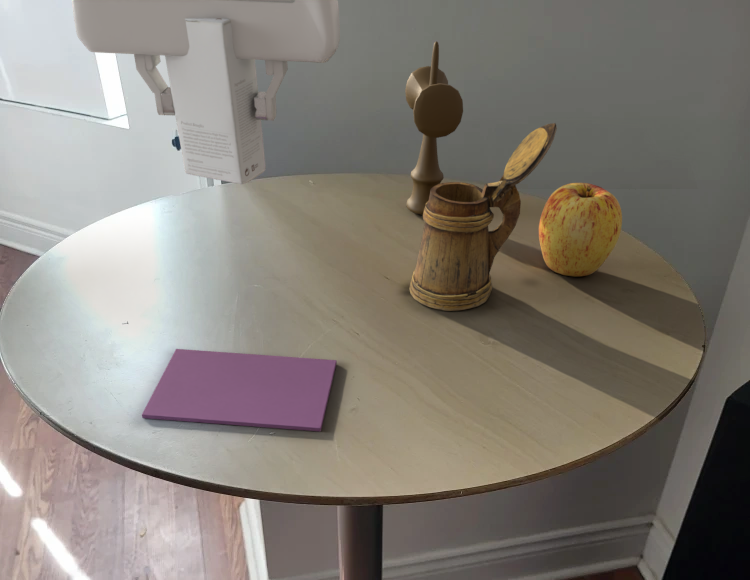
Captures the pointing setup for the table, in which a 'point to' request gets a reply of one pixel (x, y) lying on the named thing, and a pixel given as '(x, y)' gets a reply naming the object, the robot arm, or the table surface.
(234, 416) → the purple rectangular board
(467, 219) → the wooden mug
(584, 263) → the apple
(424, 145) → the kendama
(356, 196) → the table surface
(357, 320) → the table surface
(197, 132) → the cosmetic box
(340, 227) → the table surface
